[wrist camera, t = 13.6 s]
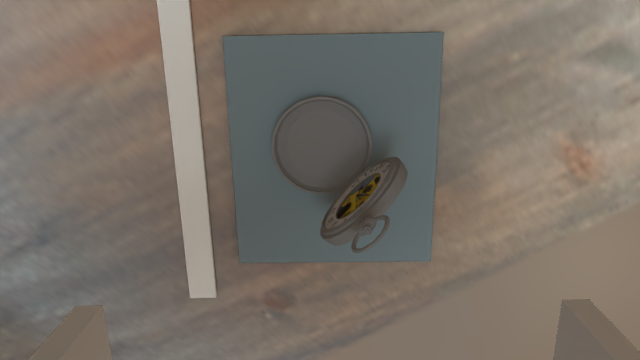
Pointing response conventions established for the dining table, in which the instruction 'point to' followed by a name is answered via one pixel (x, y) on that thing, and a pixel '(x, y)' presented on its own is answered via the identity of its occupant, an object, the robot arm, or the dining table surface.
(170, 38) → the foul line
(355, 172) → the pocket watch
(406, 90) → the mat
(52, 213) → the dining table surface
